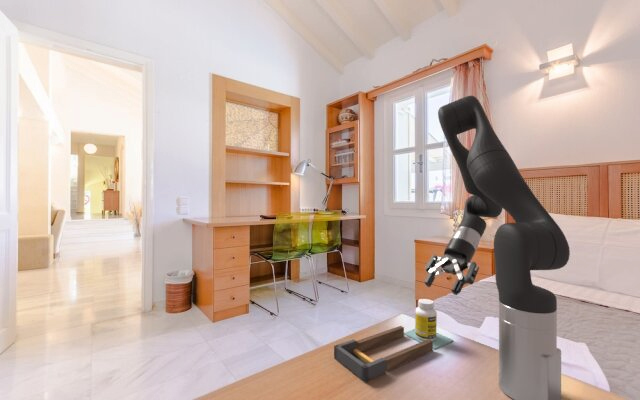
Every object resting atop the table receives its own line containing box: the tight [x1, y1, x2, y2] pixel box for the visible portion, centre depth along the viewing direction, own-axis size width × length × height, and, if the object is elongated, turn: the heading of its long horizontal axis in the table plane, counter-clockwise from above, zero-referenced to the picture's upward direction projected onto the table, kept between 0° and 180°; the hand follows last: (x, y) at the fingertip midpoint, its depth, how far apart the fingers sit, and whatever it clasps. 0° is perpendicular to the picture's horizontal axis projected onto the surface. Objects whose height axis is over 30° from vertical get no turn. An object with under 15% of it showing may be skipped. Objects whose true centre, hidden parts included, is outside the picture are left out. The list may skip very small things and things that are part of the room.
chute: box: [356, 325, 434, 373], centre depth 73 cm, size 10×16×2 cm, turn 123°
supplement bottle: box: [414, 298, 437, 341], centre depth 79 cm, size 5×5×10 cm
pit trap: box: [333, 338, 387, 383], centre depth 67 cm, size 11×6×3 cm, turn 33°
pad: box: [404, 328, 454, 351], centre depth 80 cm, size 10×8×1 cm
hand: (439, 289), depth 83 cm, fingers open, 8 cm apart
